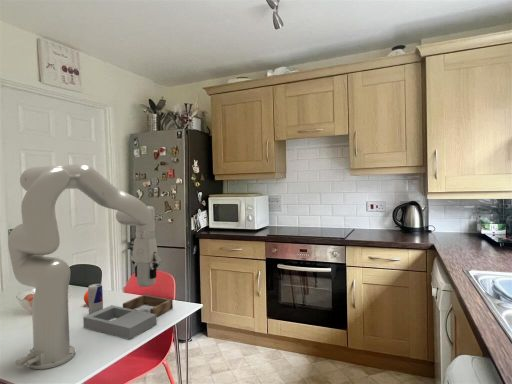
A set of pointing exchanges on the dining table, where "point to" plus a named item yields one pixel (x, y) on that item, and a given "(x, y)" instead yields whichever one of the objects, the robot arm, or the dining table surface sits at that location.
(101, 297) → the energy drink
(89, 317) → the hole board
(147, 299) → the cubby
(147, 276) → the can
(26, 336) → the dining table surface
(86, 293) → the clementine
